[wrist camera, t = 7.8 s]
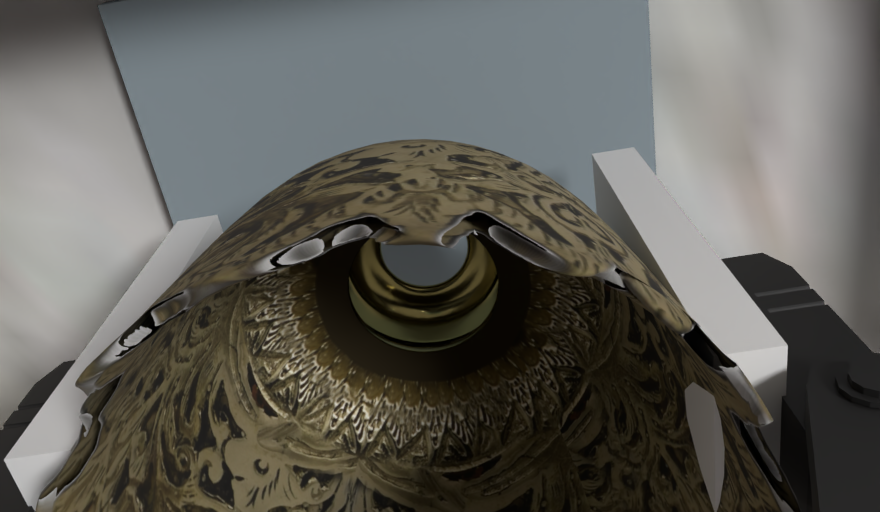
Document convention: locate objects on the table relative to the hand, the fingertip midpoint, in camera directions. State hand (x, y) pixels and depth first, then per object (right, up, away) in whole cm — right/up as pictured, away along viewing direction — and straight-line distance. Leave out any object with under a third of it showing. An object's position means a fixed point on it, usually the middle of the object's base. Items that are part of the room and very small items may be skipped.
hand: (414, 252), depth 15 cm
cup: (0, 0, 0) cm, 1 cm away
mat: (0, +1, +2) cm, 2 cm away
